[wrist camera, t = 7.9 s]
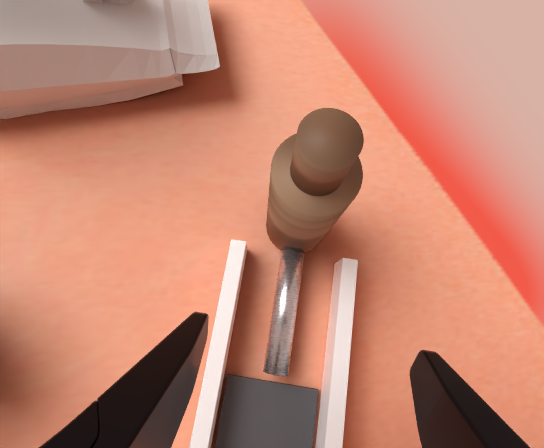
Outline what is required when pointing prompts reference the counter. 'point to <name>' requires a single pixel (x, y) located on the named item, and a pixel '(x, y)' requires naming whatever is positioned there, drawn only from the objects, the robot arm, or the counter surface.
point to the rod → (284, 312)
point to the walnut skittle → (314, 178)
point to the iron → (98, 51)
